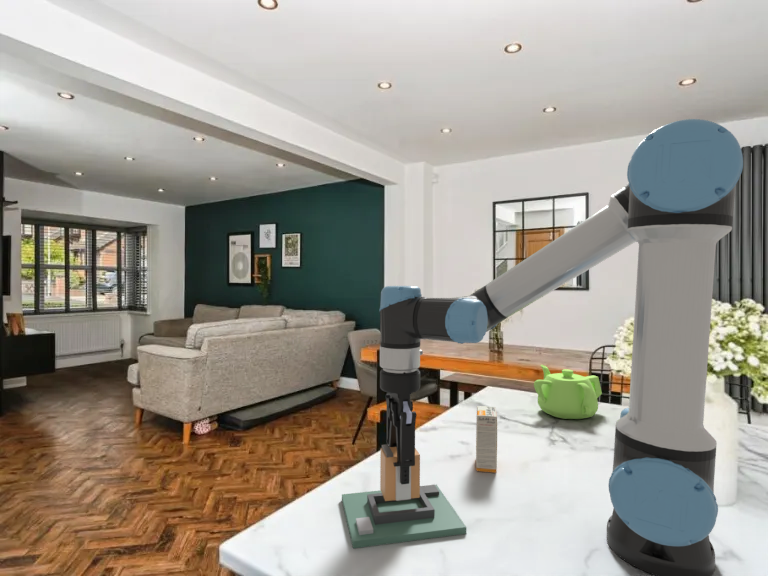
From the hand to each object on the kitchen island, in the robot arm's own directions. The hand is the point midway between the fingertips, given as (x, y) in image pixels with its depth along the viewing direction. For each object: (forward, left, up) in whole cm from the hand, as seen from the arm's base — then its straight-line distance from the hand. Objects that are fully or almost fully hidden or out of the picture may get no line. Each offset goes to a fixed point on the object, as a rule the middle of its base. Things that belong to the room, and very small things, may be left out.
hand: (399, 491), depth 83 cm
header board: (0, 0, -5) cm, 5 cm away
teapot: (+50, -69, -5) cm, 85 cm away
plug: (0, 0, 0) cm, 0 cm away
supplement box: (+17, -26, -5) cm, 31 cm away
